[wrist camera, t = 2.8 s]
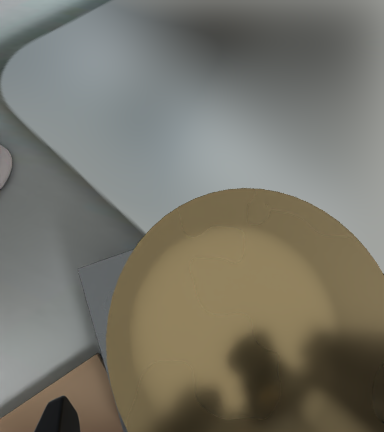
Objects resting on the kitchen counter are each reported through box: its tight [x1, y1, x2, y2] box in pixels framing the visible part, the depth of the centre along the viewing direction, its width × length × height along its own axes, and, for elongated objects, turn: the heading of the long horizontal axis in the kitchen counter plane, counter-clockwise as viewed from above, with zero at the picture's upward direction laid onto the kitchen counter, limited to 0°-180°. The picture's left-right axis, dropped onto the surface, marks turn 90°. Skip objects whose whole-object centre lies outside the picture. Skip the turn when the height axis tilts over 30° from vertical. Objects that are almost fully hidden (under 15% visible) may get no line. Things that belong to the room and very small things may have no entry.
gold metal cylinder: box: [106, 188, 384, 432], centre depth 11 cm, size 5×5×13 cm
